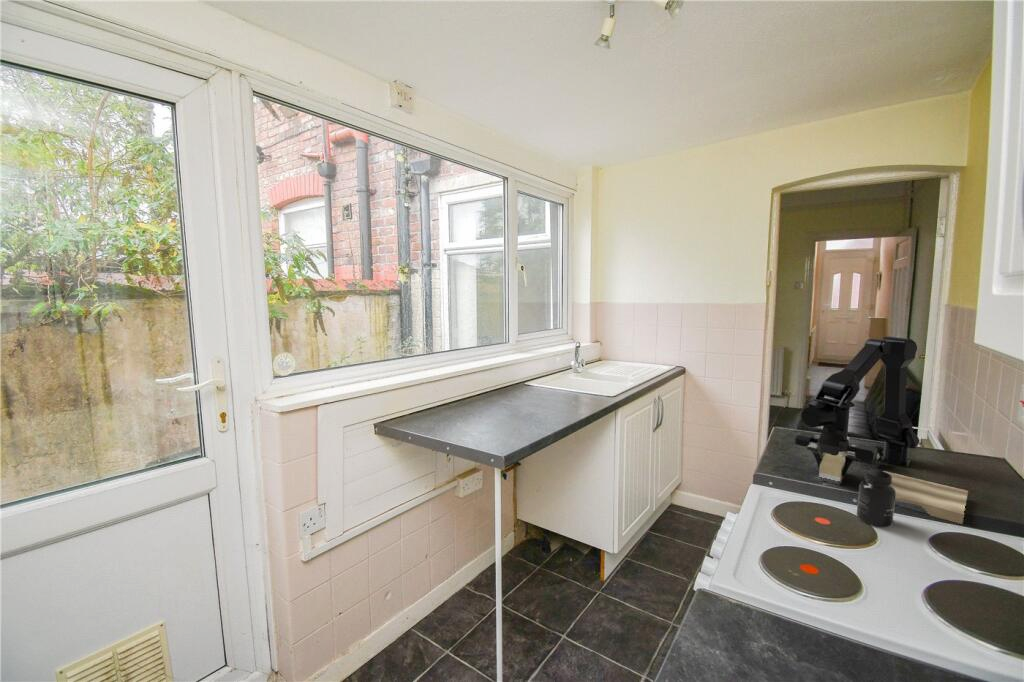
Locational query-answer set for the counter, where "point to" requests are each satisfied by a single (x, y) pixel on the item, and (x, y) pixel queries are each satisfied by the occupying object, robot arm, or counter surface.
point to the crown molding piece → (931, 497)
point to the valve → (875, 461)
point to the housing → (832, 467)
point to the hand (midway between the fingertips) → (831, 473)
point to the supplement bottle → (876, 499)
